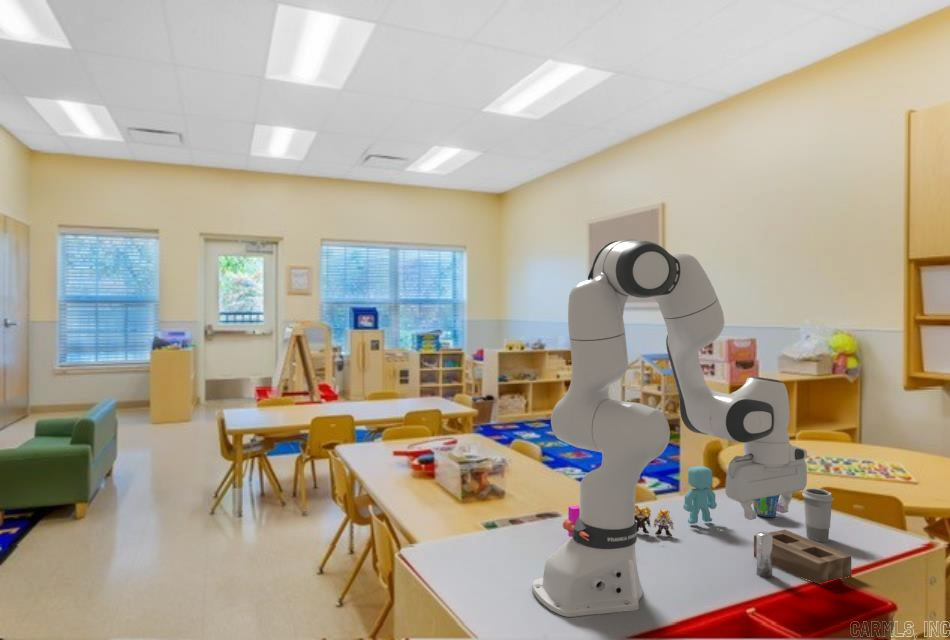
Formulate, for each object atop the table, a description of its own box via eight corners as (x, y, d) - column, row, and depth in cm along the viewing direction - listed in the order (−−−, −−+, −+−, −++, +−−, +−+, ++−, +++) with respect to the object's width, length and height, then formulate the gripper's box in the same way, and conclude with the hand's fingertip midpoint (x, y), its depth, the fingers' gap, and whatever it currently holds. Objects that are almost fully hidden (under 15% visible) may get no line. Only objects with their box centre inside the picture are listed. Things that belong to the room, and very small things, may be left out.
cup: (839, 544, 137) (839, 496, 137) (812, 544, 137) (812, 495, 137) (822, 533, 144) (822, 487, 144) (796, 533, 144) (796, 487, 144)
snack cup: (776, 523, 151) (776, 495, 151) (745, 516, 156) (745, 490, 156) (784, 512, 160) (784, 486, 160) (755, 506, 165) (755, 481, 165)
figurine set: (609, 525, 150) (609, 500, 150) (673, 532, 145) (673, 507, 145) (608, 529, 146) (608, 504, 146) (674, 537, 142) (674, 511, 142)
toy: (708, 517, 155) (708, 463, 155) (721, 523, 151) (721, 468, 151) (679, 520, 153) (679, 466, 153) (690, 527, 148) (691, 471, 148)
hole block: (818, 587, 115) (818, 563, 115) (753, 556, 129) (753, 535, 129) (851, 579, 118) (851, 556, 118) (784, 550, 133) (784, 529, 133)
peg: (765, 580, 118) (765, 537, 118) (753, 574, 121) (753, 532, 121) (775, 577, 119) (775, 535, 119) (763, 571, 122) (763, 530, 122)
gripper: (741, 461, 113) (742, 528, 113) (812, 450, 120) (812, 513, 121) (717, 453, 119) (718, 517, 119) (786, 443, 126) (787, 503, 127)
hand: (766, 515), depth 120 cm, fingers open, 8 cm apart
